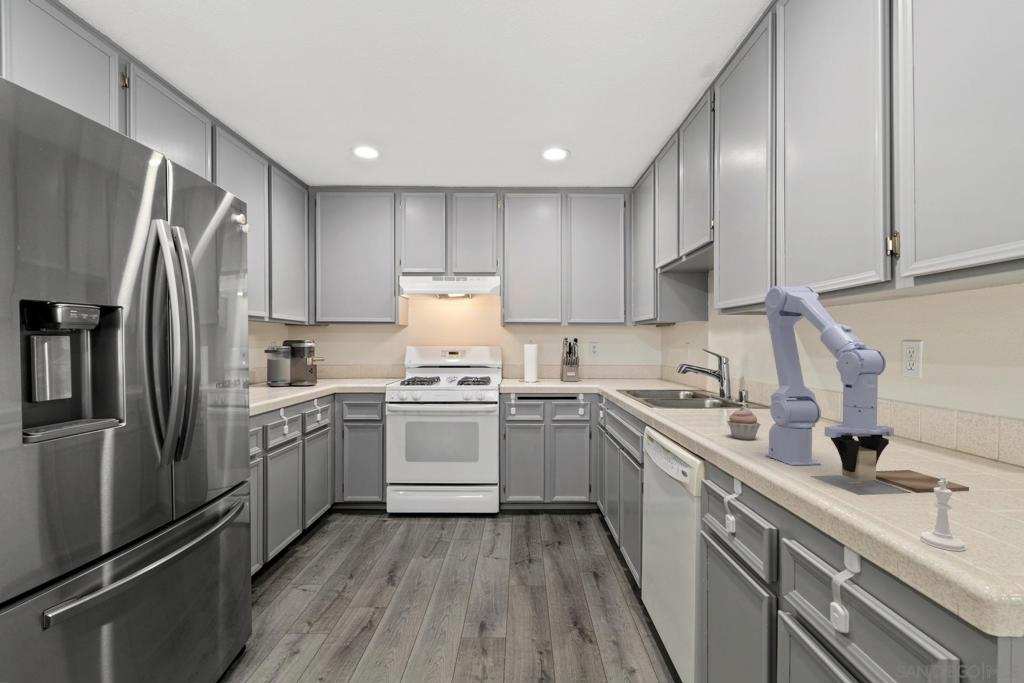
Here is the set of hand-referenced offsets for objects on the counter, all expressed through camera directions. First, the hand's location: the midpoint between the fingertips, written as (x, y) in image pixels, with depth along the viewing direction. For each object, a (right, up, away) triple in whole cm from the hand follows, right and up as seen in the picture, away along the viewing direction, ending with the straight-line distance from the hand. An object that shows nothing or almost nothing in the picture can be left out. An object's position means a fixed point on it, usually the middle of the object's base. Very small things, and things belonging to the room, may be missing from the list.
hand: (858, 470), depth 94 cm
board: (+13, -3, +2) cm, 13 cm away
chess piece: (-9, -3, -27) cm, 29 cm away
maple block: (0, -1, 0) cm, 1 cm away
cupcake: (-2, -3, +44) cm, 44 cm away
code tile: (0, -3, 0) cm, 3 cm away
